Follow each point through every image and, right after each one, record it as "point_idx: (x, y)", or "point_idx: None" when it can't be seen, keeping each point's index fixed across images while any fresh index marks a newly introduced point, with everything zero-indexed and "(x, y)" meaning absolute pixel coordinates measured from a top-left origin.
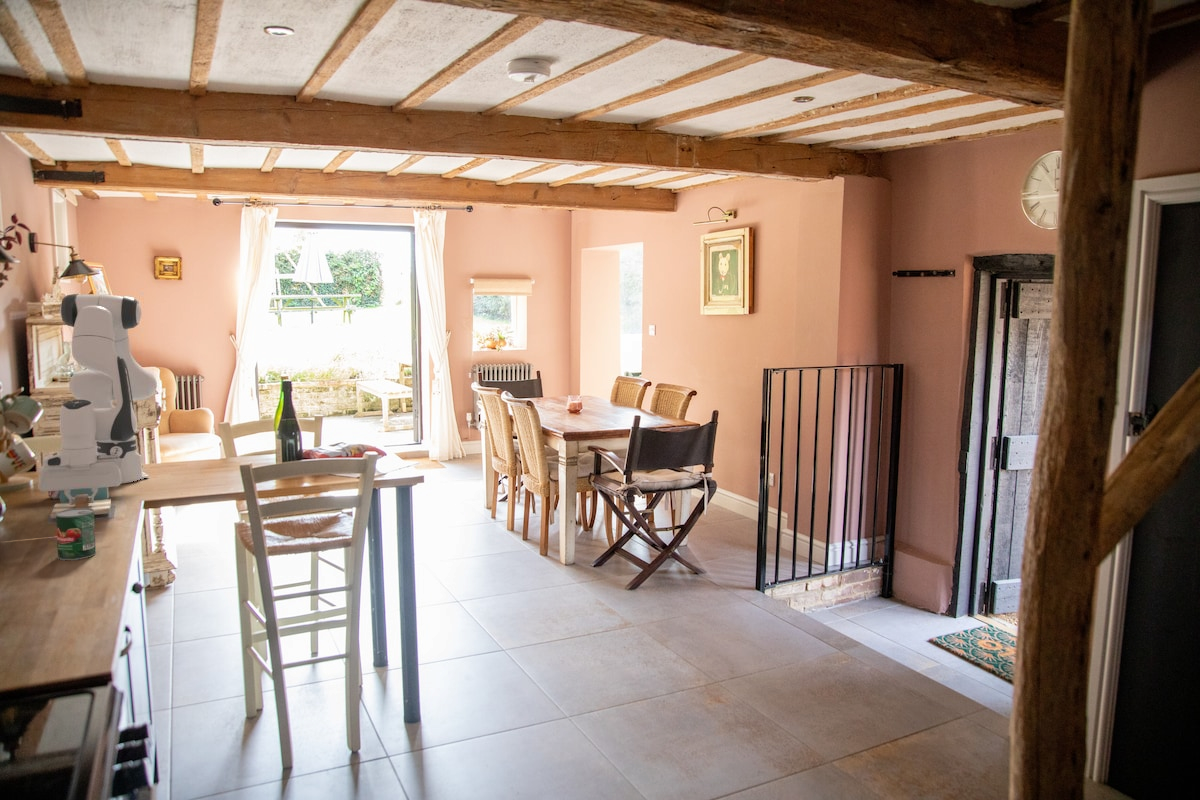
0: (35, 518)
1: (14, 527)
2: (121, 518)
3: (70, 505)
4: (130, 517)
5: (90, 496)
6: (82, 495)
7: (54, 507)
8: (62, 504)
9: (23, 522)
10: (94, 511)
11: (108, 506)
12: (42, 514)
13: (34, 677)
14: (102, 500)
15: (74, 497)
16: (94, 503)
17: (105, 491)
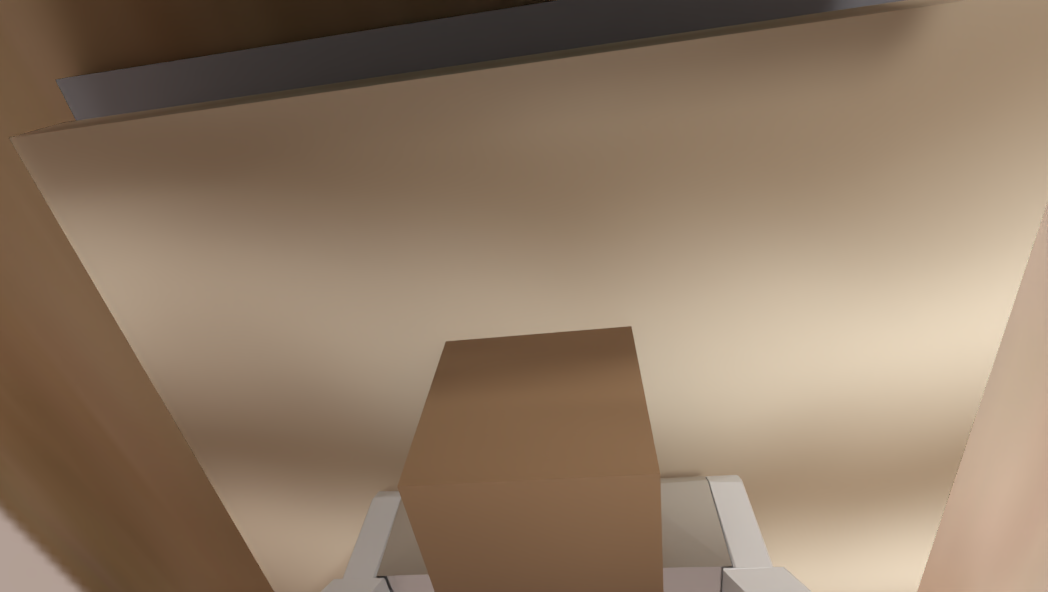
0: (75, 355)
1: (108, 588)
2: (946, 586)
3: (362, 359)
4: (1038, 578)
5: (709, 584)
6: (554, 569)
7: (178, 411)
8: (195, 258)
9: (67, 472)
10: None
11: (910, 552)
12: (16, 167)
13: None
14: (894, 115)
15: (419, 572)
16: (726, 333)
17: None
